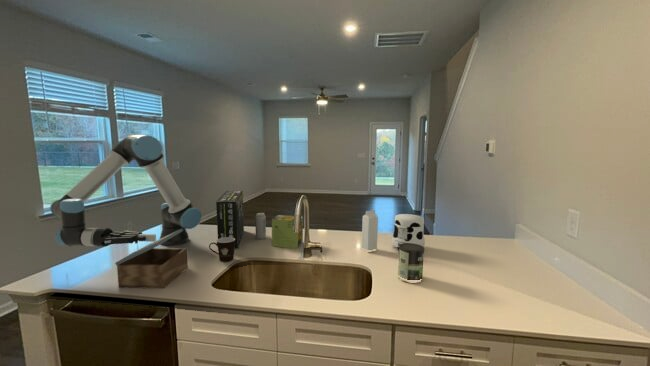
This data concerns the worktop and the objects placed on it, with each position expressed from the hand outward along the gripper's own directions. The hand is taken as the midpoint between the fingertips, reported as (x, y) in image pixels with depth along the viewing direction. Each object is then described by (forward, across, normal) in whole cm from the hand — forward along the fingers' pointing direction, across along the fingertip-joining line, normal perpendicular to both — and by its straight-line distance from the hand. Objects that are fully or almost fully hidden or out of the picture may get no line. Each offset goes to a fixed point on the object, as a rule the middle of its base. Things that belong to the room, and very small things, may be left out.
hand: (154, 237), depth 125 cm
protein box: (+50, -45, -17) cm, 69 cm away
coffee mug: (+21, -20, -17) cm, 34 cm away
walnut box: (0, 0, -17) cm, 17 cm away
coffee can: (+108, -2, -17) cm, 109 cm away
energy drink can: (+32, -55, -17) cm, 66 cm away
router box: (+16, -52, -17) cm, 57 cm away
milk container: (+117, -40, -17) cm, 125 cm away
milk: (+95, -36, -17) cm, 103 cm away
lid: (-1, 0, -4) cm, 4 cm away
